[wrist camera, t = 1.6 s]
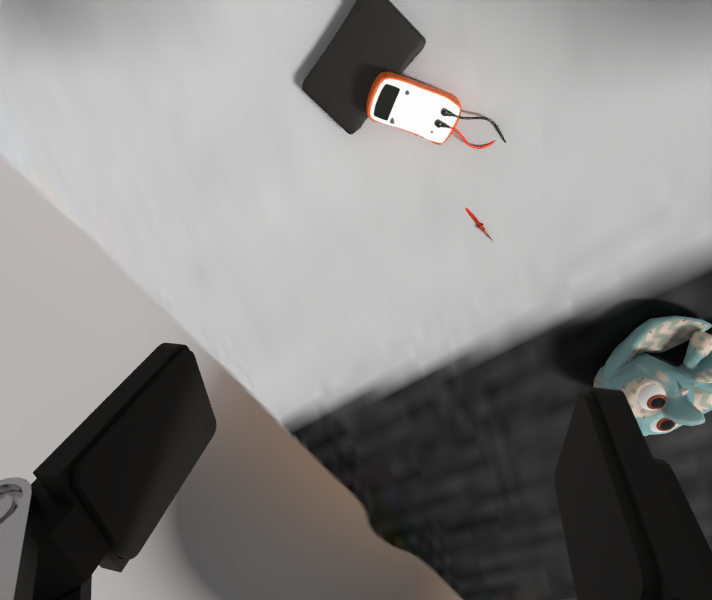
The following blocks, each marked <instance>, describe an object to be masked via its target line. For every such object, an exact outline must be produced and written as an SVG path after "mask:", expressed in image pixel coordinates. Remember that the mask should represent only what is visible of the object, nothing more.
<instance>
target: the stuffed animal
mask: <svg viewBox="0 0 712 600" xmlns="http://www.w3.org/2000/svg"><path fill="white" fill-rule="evenodd" d="M711 327H712V325H711V324H710V323H708V322H706V321H704V320H702V319H698V318H691V317H683V316H676V315H674V316H666V317H658V318H651V319H649V320H647V321H646V322H644V323H643V324H641V325H640V326H639V327H637V328H636V329H634V330H633V331H632V332H631V333H630V334H629V335H628V336H627V338H626V339H624V340H623V341H622V342H621V343H620V344H619V345H618V346H617V347H616V348H615V349H614V351H613V352H612V354H611V355H610V357H609V358H608V360H607V361H606V363H605V365H604V366H603V367H601V368H600V369H599V371H598V373H597V375H596V377H595V379H594V386H593V387H596V388H606V389H615V390H621V391H623V392H624V394H625V396H626V398H627V400H628V402H629V405H630V407H631V409H632V411H633V414H634V416H635V418H636V420H637V423H638V425H639V427H640V429H641V432H642V434H643V436H647V435H651V434H663V433H668V432H670V431H672V430H674V429H676V428H678V427H680V426H682V425H689V426H693V425H699V424H702V423H704V422H705V418H704V415H703V414H705V413H707V412H708V411H710V410H712V335H710V334H708V333H706V332H705V331H707V330H708V329H710V328H711ZM689 339H690V341H689V345H688V348H687V352H686V356H685V359H684V360H683V363H682V364H681V365H680V366H672V365H670V364H668V363H666V362H663V361H661V360H659V359H657V358H655V357H653V356H651V355H649V354H647V353H663V352H665V351H667V350H669V349H671V348H673V347H676V346H678V345H680V344H682V343H684V342H686V341H688V340H689Z"/></svg>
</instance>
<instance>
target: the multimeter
mask: <svg viewBox="0 0 712 600" xmlns="http://www.w3.org/2000/svg"><path fill="white" fill-rule="evenodd" d="M425 43H426V40H425V38H424V37H423V36H422V35H421V34H420V33H419V31H418V30H417V29H416V28H415V27H414V26H413V25H412V24H411V23H410V22H409V21H408V20H407V19H406V18H405V17H404V16H403V15H402V14H401V12H400V11H399V10H398V9H397V8H396V7H395V6H394V5H393V4H392V3H391V2H390V1H389V0H357V1H356V3H355V5H354V6H353V8H352V10H351V11H350V13H349V15H348V16H347V18H346V20H345V21H344V23H343V24H342V26H341V28H340V29H339V31H338V32H337V34H336V35H335V37H334V38H333V40H332V41H331V43H330V44H329V46H328V47H327V49H326V50H325V52H324V53H323V55H322V56H321V58H320V59H319V60H318V62H317V63H316V65H315V66H314V67H313V69H312V70H311V71H310V73H309V74H308V76H307V77H306V78H305V80H304V82H303V85H302V89H303V91H304V92H305V93H306V94H307V95H308V96H309V97H311V98H312V99H313V100H314V101H315V102H316V103H317V104H318V105H319V106H320V107H321V108H322V109H323V110H324V111H325V112H326V113H327V114H328V115H329V116H330V117H331V118H333V119H334V120H335V121H336V122H337V123H338V124H339V125H340V126H341V127H342V128H343V129H344V130H345V131H346V132H347V133H349V134H353V133H355V132H356V131H357V130H358V129H359V128H360V127H361V126H362V124H363V123H364V122H365V120H366V119H367V117H369V118H370V119H371V120H373V121H375V122H380V123H384V124H388V125H391V126H394V127H397V128H399V129H402V130H405V131H408V132H410V133H413V134H416V135H418V136H421V137H423V138H425V139H427V140H429V141H431V142H433V143H435V144H442V143H444V142H445V141H446V140H447V139H448V138H449V137H450V135H451V134H452V132H453V130H454V131H456V132H457V133H458V134H459V135H460V136H461V137H462V139H463V140H464V141H465V142H466V144H467V145H469V146H470V147H472V148H476V149H480V148H485V147H487V146H489V145H491V144H493V143H494V142H495V141H496V140H495V141H493V142H491V143H489V144H487V145H485V146H481V147H476V146H473V145H471V144H469V143H468V142H467V140H466V139H465V138H464V137H463V135H462V134H461V133H460V132H459V131H458V130H457V129H455V127H456V125H457V123H458V120H459V118H460V119H484V120H488V121H490V122H491V123H493V124H494V126H495V127H496V129H497V130H498V132H499V134H500V136H501V138H502V139H503V141H504V142H505V143H506V141H505V139H504V137H503V135H502V133H501V132H500V130H499V128H498V126H497V125H496V124H495V122H494V121H492V120H491V119H488V118H485V117H461V116H460V114H461V104H460V102H459V100H458V98H457V97H456V96H454V95H452V94H450V93H448V92H445V91H443V90H440V89H437V88H434V87H431V86H429V85H426V84H423V83H420V82H418V81H415V80H413V79H410V78H408V77H405V76H402V75H401V74H402V72H403V71H404V70H405V69H406V68H407V67H408V65H409V64H410V63H411V62H412V61H413V60H414V58H415V57H416V56H417V55H418V54H419V53H420V52H421V50H422V49H423V47H424V45H425ZM465 209H466V211H467V212H468V214H469V215H470V216H471V218H472V219H473V220H474V221H475V222H476V224H477V225H478V226H479V227H478V228H480V229H481V230H482V231H483V232H484V233H486V234H487V232H486V230H485V228H484V227H483V225H481V224H480V222H479V221H478V220H477V218H476V217H475V216H474V215H473V214H472V213H471V212H470V211H469V210H468V209H467V208H465ZM487 236H488V237H489V235H488V234H487ZM489 238H490V237H489ZM490 239H491V238H490ZM491 240H492V239H491Z"/></svg>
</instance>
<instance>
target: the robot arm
mask: <svg viewBox="0 0 712 600" xmlns="http://www.w3.org/2000/svg"><path fill="white" fill-rule="evenodd" d="M215 430H216V419H215V416H214V414H213V411H212V408H211V404H210V401H209V398H208V395H207V392H206V389H205V386H204V383H203V380H202V377H201V374H200V371H199V368H198V365H197V362H196V358H195V356H194V353H193V352H192V351H190V350H189V348H188V347H187V346H186V345H181V344H172V343H163V344H161V345H159V346H158V347H157V348H156V349H155V350H154V351H153V352H152V353H151V354H150V355H149V356H148V357H147V358H146V359H145V360H144V361H143V362H142V363H141V364H140V365H139V366H138V367H137V368H136V369H135V370H134V371H133V372H132V373H131V374H130V375H129V376H128V377H127V378H126V379H125V380H124V381H123V382H122V383H121V384H120V385H119V386H118V388H116V389H115V390H114V391H113V392H112V393H111V394H110V396H108V397H107V398H106V399H105V400H104V401H103V402H102V403H101V405H99V406H98V407H97V409H95V410H94V412H92V413H91V414H90V415H89V416H88V417H87V419H86V420H85V421H84V422H83V423H82V424H81V425H80V426H79V427H78V428H77V429H76V430H75V431H74V432H73V433H72V434H71V435H70V436H69V437H68V438H67V439H66V440H65V441H64V442H63V443H62V444H61V445H60V446H59V447H58V448H57V449H56V450H55V451H54V452H53V453H52V454H51V455H50V456H49V457H48V458H47V459H46V460H45V461H44V462H43V463H42V464H41V465H40V466H39V467H38V468H37V469H36V470H35V471H34V472H33V473H34V475H35V476H36V478H37V479H36V480H35V481H34V482H33V483H32V484H31V485H30V483H29V482H28V481H27V480H25V479H22V478H7V479H3V480H0V600H91V579H92V573H93V572H94V571H95V569H96V568H97V566H98V565H100V566H101V567H102V568H105V569H110V570H114V571H118V572H122V570H123V569H124V567H125V566H126V564H127V563H128V561H129V560H130V559H132V558H134V557H135V556H137V555H138V553H139V552H140V550H141V549H142V547H143V546H144V544H145V543H146V541H147V539H148V538H149V536H150V534H151V533H152V531H153V530H154V528H155V527H156V525H157V524H158V522H159V521H160V519H161V517H162V516H163V514H164V513H165V511H166V510H167V508H168V506H169V505H170V503H171V502H172V500H173V499H174V497H175V495H176V494H177V492H178V491H179V489H180V487H181V486H182V484H183V483H184V481H185V479H186V478H187V476H188V475H189V473H190V472H191V470H192V469H193V467H194V465H195V464H196V462H197V461H198V459H199V458H200V456H201V454H202V453H203V451H204V450H205V448H206V446H207V445H208V443H209V442H210V440H211V438H212V437H213V435H214V433H215ZM555 489H556V494H557V499H558V504H559V509H560V515H561V520H562V525H563V530H564V535H565V540H566V545H567V550H568V555H569V560H570V565H571V571H572V576H573V581H574V586H575V591H576V596H577V600H712V552H711V549H710V547H709V545H708V543H707V541H706V539H705V537H704V535H703V533H702V531H701V528H700V526H699V524H698V522H697V520H696V518H695V516H694V514H693V512H692V509H691V507H690V505H689V503H688V501H687V499H686V497H685V495H684V493H683V491H682V488H681V486H680V484H679V482H678V480H677V478H676V476H675V474H674V472H673V470H672V469H671V467H670V465H669V464H668V463H667V462H666V461H664V460H661V459H656V458H653V457H652V454H651V452H650V450H649V448H648V445H647V443H646V441H645V439H644V436H643V434H642V432H641V429H640V427H639V425H638V423H637V420H636V418H635V416H634V414H633V411H632V409H631V407H630V405H629V402H628V400H627V398H626V396H625V394H624V392H623V391H621V390H615V389H606V388H596V387H591V388H590V389H589V391H588V393H580V394H579V396H578V399H577V402H576V405H575V408H574V412H573V415H572V418H571V421H570V425H569V428H568V431H567V435H566V438H565V441H564V444H563V448H562V451H561V454H560V458H559V461H558V464H557V467H556V471H555Z"/></svg>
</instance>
